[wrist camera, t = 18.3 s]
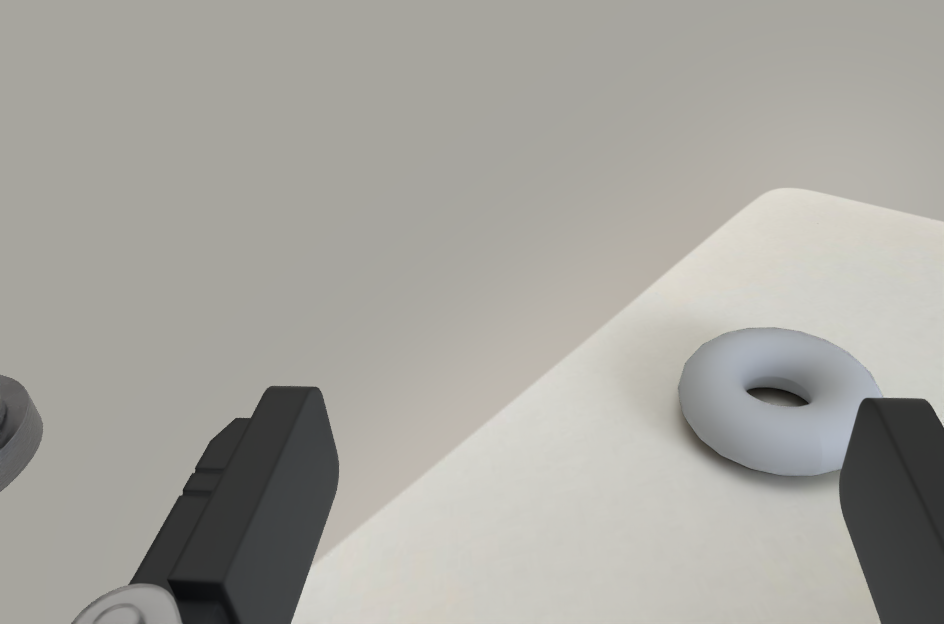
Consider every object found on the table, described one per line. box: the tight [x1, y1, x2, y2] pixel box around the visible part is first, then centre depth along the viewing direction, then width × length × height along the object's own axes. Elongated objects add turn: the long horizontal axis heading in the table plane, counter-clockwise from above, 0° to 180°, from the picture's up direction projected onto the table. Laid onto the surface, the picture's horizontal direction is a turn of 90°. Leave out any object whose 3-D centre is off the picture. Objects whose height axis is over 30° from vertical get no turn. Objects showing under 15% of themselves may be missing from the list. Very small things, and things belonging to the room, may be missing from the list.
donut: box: [678, 327, 883, 476], centre depth 39 cm, size 10×4×10 cm
